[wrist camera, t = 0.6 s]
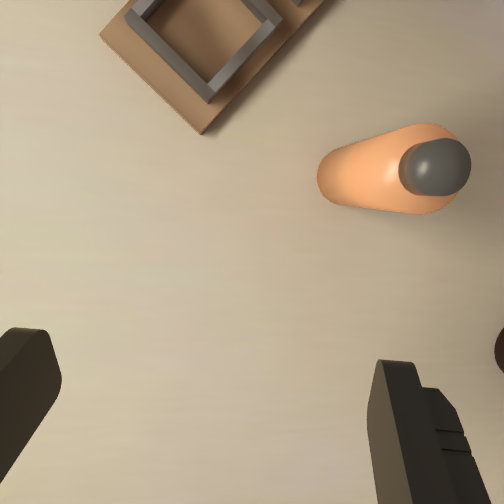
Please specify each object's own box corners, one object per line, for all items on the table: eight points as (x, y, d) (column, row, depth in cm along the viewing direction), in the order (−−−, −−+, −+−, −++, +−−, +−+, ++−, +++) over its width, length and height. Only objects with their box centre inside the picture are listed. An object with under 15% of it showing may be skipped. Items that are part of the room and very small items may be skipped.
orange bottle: (344, 216, 35) (440, 236, 21) (305, 177, 35) (377, 168, 20) (383, 175, 35) (508, 166, 21) (345, 135, 34) (447, 94, 20)
